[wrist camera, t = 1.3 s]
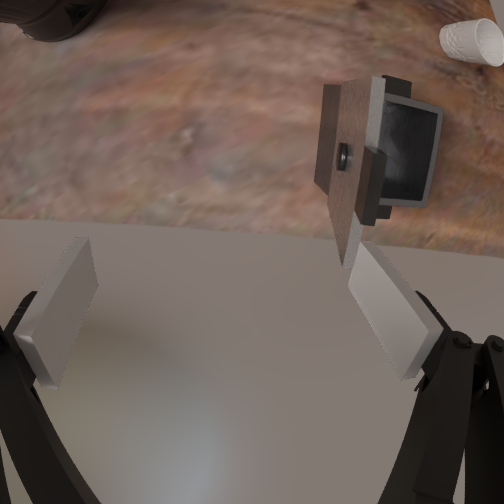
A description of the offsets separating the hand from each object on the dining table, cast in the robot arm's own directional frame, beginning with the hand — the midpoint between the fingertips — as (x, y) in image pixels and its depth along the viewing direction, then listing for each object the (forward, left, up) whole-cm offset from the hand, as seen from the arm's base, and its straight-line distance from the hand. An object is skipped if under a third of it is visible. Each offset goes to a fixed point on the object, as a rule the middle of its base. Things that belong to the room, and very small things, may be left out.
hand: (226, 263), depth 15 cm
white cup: (-23, +38, -32) cm, 55 cm away
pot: (-2, +22, -32) cm, 39 cm away
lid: (-2, +13, -14) cm, 19 cm away
